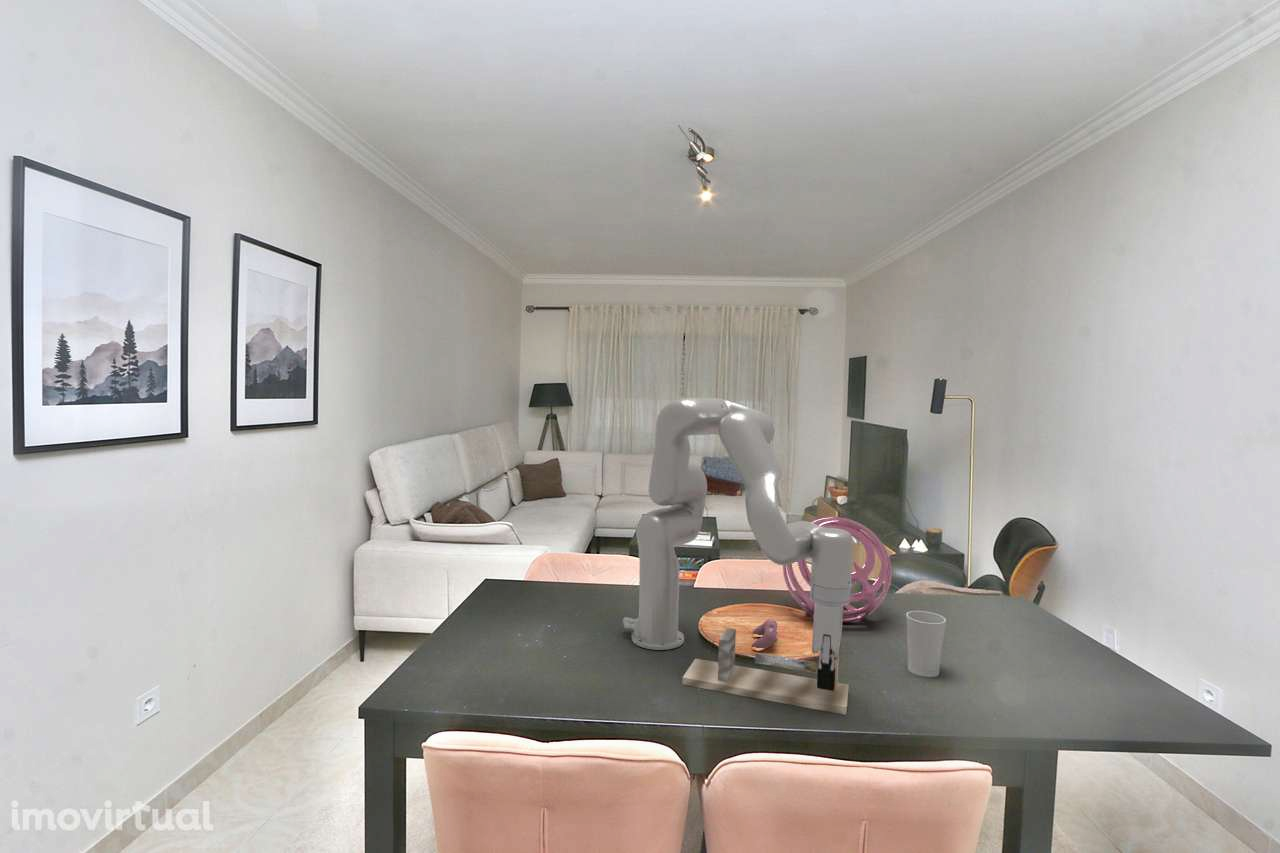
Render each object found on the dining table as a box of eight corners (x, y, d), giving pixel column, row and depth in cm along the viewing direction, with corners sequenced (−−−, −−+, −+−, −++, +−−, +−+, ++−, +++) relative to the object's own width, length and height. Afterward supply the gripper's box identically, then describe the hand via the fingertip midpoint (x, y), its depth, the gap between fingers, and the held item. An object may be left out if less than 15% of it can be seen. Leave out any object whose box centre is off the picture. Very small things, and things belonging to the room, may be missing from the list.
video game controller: (767, 660, 148) (782, 634, 147) (749, 649, 149) (764, 624, 148) (767, 643, 158) (781, 619, 157) (751, 633, 159) (764, 610, 158)
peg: (753, 676, 129) (754, 646, 129) (757, 668, 133) (758, 639, 133) (836, 690, 124) (837, 660, 123) (837, 681, 128) (838, 652, 127)
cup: (941, 666, 143) (943, 613, 142) (945, 681, 136) (948, 625, 135) (902, 660, 146) (905, 608, 145) (904, 675, 138) (907, 620, 138)
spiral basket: (791, 526, 196) (804, 487, 172) (885, 556, 189) (912, 520, 165) (766, 613, 183) (776, 584, 160) (866, 648, 176) (892, 623, 153)
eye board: (682, 684, 131) (683, 636, 131) (695, 665, 141) (696, 620, 140) (846, 715, 120) (848, 663, 120) (848, 691, 130) (850, 643, 129)
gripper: (814, 578, 134) (810, 663, 135) (806, 602, 119) (802, 699, 120) (851, 583, 132) (848, 670, 133) (848, 608, 116) (844, 706, 117)
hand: (826, 682), depth 126 cm, fingers closed on peg, 4 cm apart
